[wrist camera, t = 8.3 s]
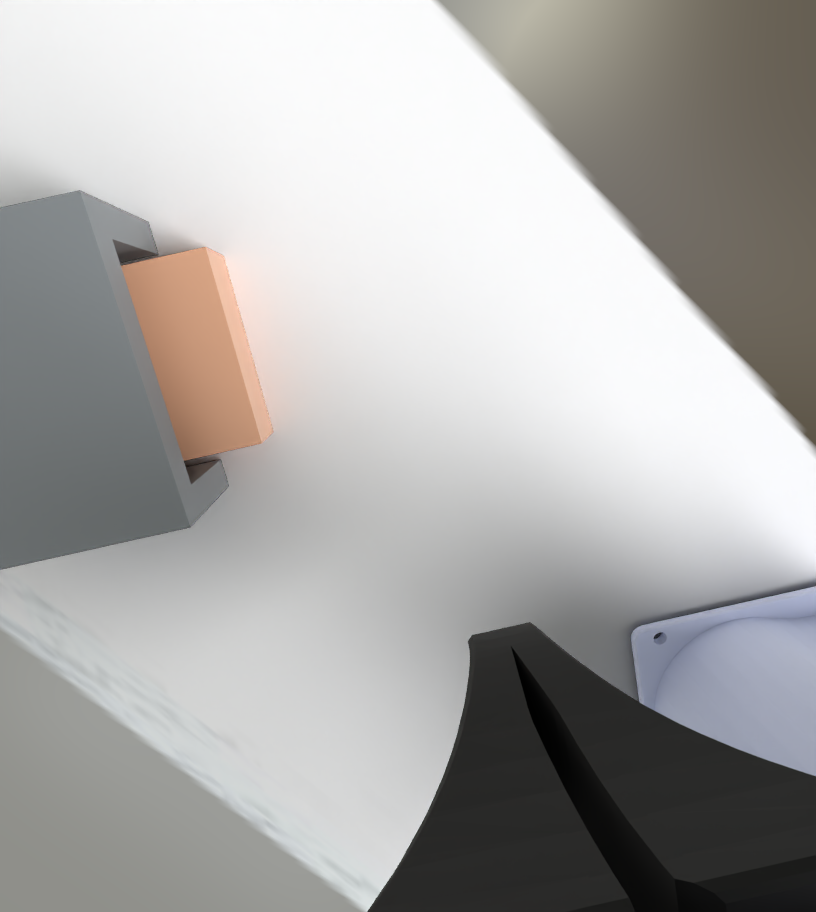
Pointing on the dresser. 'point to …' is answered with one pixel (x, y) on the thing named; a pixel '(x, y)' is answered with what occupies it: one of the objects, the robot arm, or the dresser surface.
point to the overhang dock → (82, 390)
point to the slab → (199, 351)
